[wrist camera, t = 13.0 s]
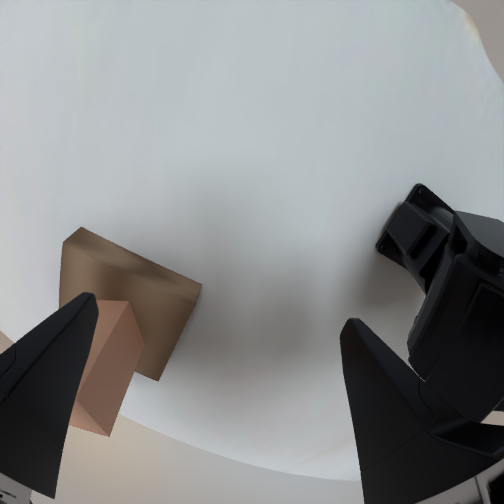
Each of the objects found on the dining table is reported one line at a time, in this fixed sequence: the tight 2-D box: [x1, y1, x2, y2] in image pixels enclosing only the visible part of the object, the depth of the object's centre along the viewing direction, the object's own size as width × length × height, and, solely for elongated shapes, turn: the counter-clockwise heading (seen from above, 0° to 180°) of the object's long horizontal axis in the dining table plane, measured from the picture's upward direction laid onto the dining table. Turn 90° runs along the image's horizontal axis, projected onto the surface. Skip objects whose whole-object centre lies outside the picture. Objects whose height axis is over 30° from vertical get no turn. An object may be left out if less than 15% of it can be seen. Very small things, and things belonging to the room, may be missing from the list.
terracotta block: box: [69, 300, 146, 437], centre depth 19 cm, size 5×5×10 cm
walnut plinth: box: [59, 227, 202, 381], centre depth 25 cm, size 12×12×3 cm
